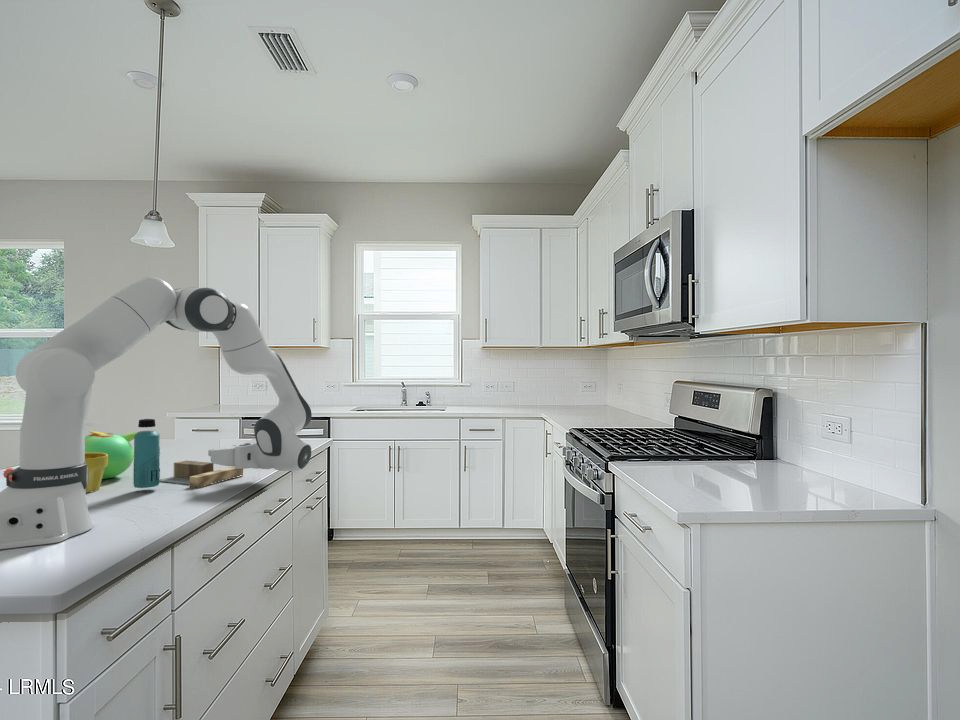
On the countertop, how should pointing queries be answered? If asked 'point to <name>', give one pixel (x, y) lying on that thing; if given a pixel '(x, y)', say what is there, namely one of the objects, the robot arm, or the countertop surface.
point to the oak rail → (214, 476)
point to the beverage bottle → (146, 456)
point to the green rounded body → (112, 451)
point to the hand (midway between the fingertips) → (222, 450)
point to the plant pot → (95, 469)
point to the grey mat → (175, 480)
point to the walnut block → (191, 468)
